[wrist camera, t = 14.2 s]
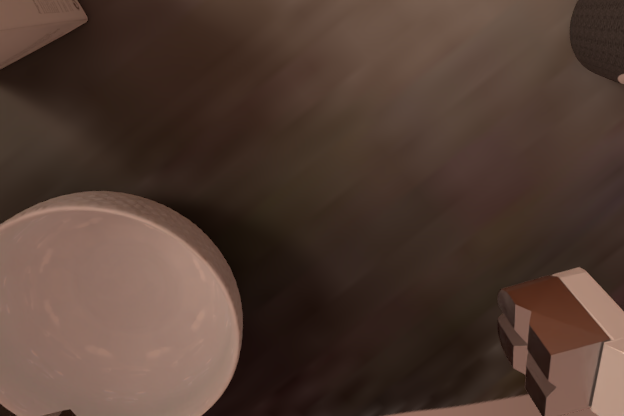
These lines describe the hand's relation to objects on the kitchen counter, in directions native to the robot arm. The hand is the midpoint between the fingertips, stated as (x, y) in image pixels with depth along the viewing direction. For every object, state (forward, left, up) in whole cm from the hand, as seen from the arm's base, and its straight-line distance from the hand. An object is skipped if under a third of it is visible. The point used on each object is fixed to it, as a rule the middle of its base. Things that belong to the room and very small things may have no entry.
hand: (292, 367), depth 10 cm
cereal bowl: (-14, -9, -25) cm, 31 cm away
